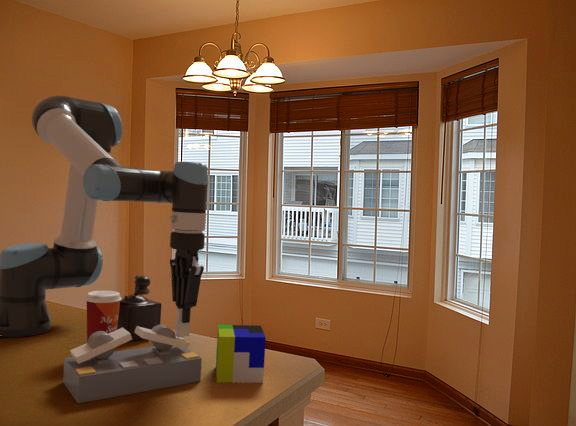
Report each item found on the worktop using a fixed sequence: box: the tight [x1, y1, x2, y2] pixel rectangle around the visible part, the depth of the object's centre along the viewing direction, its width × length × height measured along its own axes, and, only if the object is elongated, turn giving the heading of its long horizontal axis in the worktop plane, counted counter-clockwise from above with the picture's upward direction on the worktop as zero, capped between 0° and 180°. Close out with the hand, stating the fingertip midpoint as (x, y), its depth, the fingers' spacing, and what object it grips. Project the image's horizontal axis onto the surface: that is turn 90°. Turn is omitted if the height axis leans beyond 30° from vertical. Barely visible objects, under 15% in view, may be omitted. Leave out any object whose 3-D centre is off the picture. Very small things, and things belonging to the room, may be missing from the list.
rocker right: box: [134, 324, 190, 351], centre depth 110 cm, size 5×11×5 cm, turn 126°
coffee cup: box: [85, 290, 123, 342], centre depth 121 cm, size 8×8×15 cm
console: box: [62, 345, 202, 404], centre depth 106 cm, size 12×25×6 cm, turn 126°
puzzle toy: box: [215, 324, 267, 384], centre depth 114 cm, size 10×10×10 cm
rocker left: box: [69, 327, 132, 364], centre depth 103 cm, size 5×11×5 cm, turn 126°
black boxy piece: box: [117, 275, 162, 342], centre depth 137 cm, size 16×11×18 cm
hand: (182, 335), depth 113 cm, fingers closed
